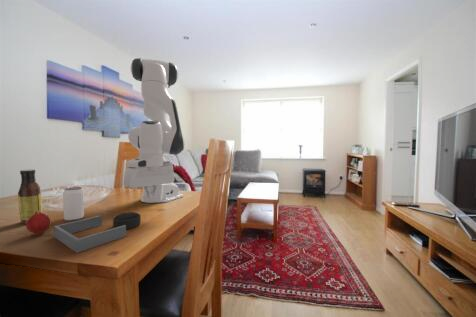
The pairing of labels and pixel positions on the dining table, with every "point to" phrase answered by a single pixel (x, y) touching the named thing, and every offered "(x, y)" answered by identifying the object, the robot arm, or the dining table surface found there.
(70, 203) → the can
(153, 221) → the dining table surface
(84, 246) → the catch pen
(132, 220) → the smart speaker
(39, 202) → the sauce bottle
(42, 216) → the onion
